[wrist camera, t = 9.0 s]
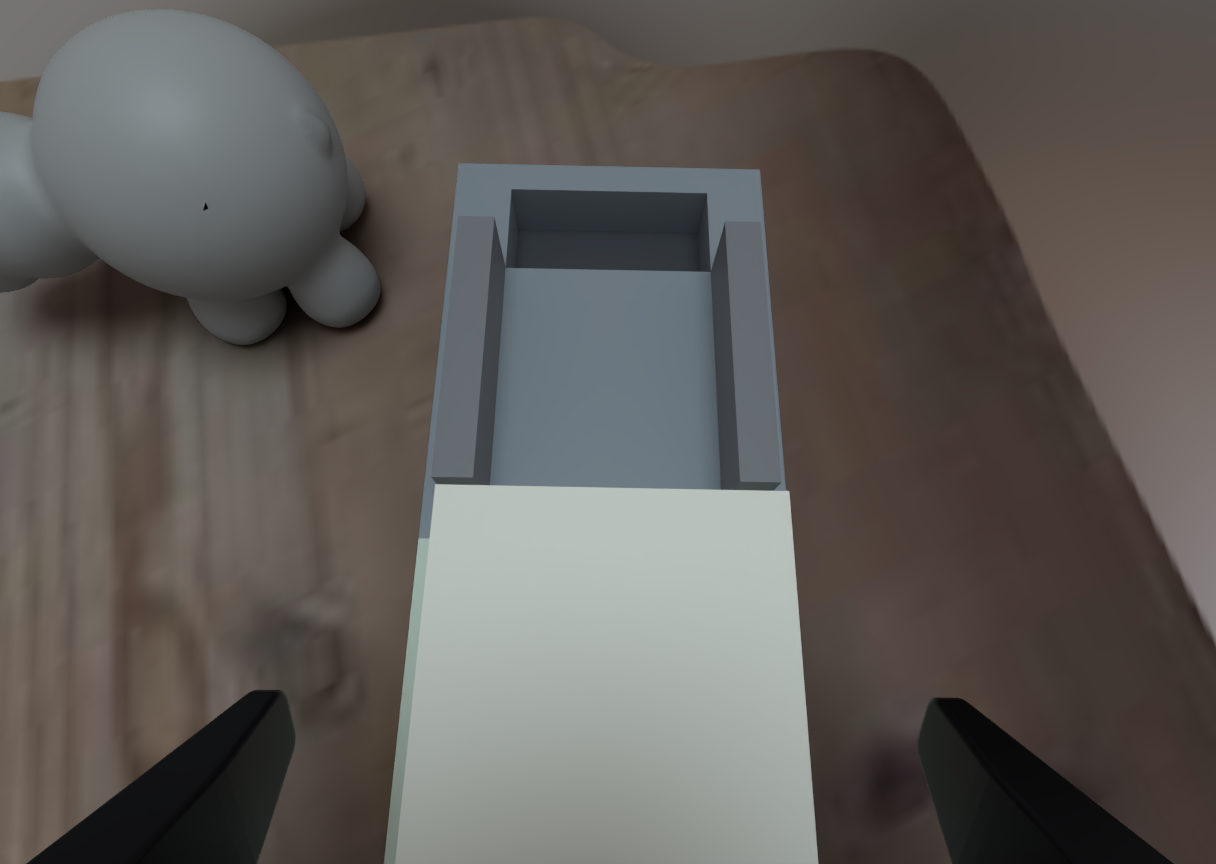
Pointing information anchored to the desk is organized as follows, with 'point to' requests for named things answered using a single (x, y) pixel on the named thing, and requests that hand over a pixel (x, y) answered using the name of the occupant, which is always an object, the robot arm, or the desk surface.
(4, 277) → the grey rounded figurine
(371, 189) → the desk surface
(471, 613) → the block
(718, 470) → the channel
